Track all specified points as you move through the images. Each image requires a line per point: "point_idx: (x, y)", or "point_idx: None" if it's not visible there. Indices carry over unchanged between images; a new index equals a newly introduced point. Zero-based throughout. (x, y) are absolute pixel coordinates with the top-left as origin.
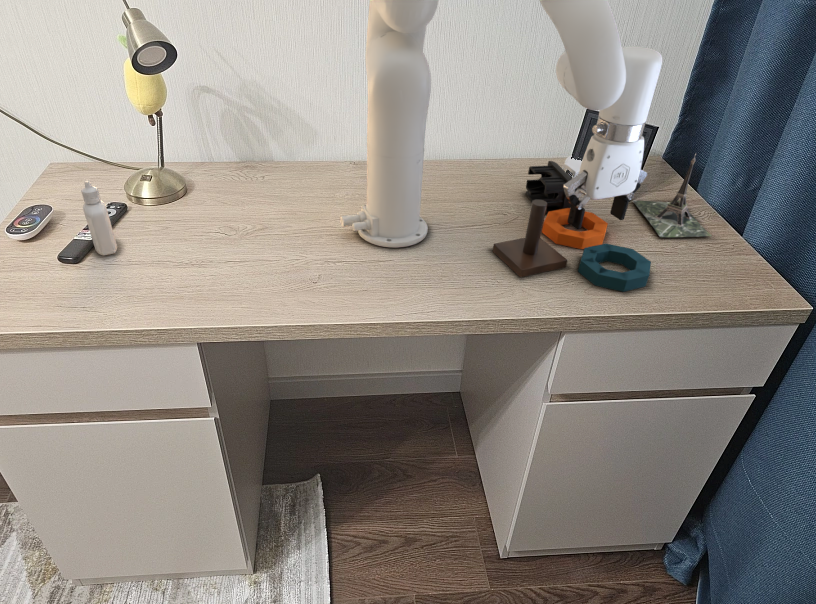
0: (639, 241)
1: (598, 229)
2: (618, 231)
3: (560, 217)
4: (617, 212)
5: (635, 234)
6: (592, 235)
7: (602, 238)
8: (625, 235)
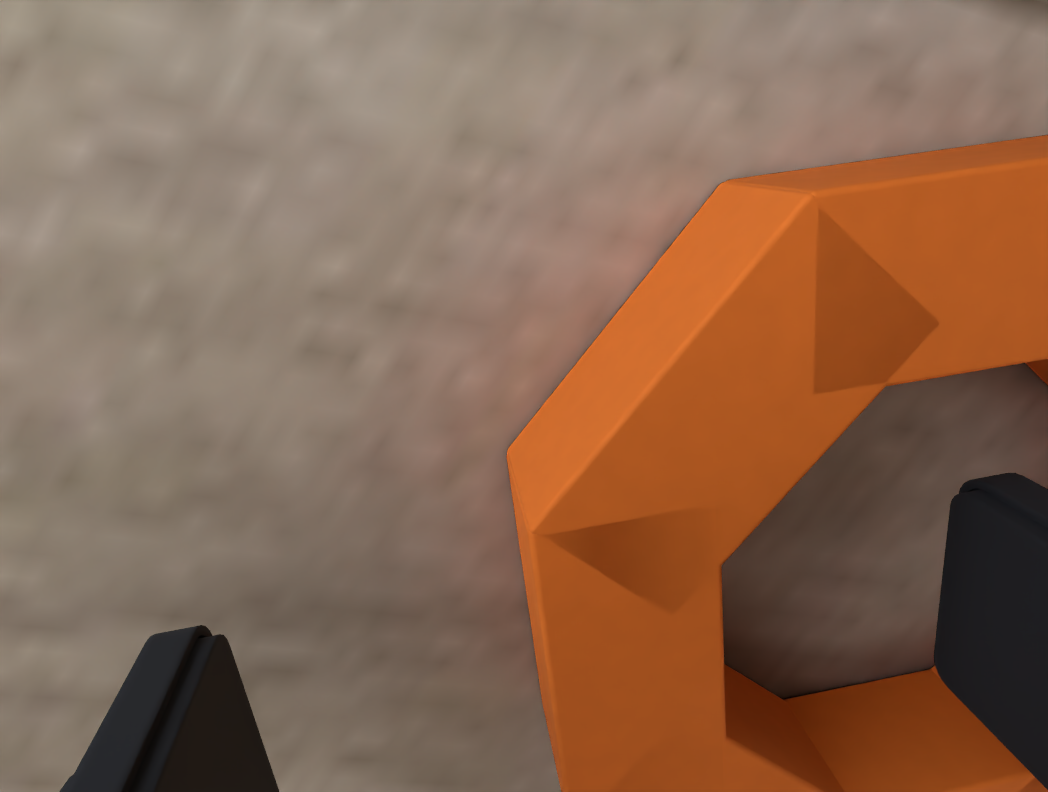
0: (73, 153)
1: (809, 366)
2: (275, 484)
3: (990, 756)
4: (227, 777)
5: (46, 369)
6: (1040, 194)
7: (802, 179)
8: (225, 368)
